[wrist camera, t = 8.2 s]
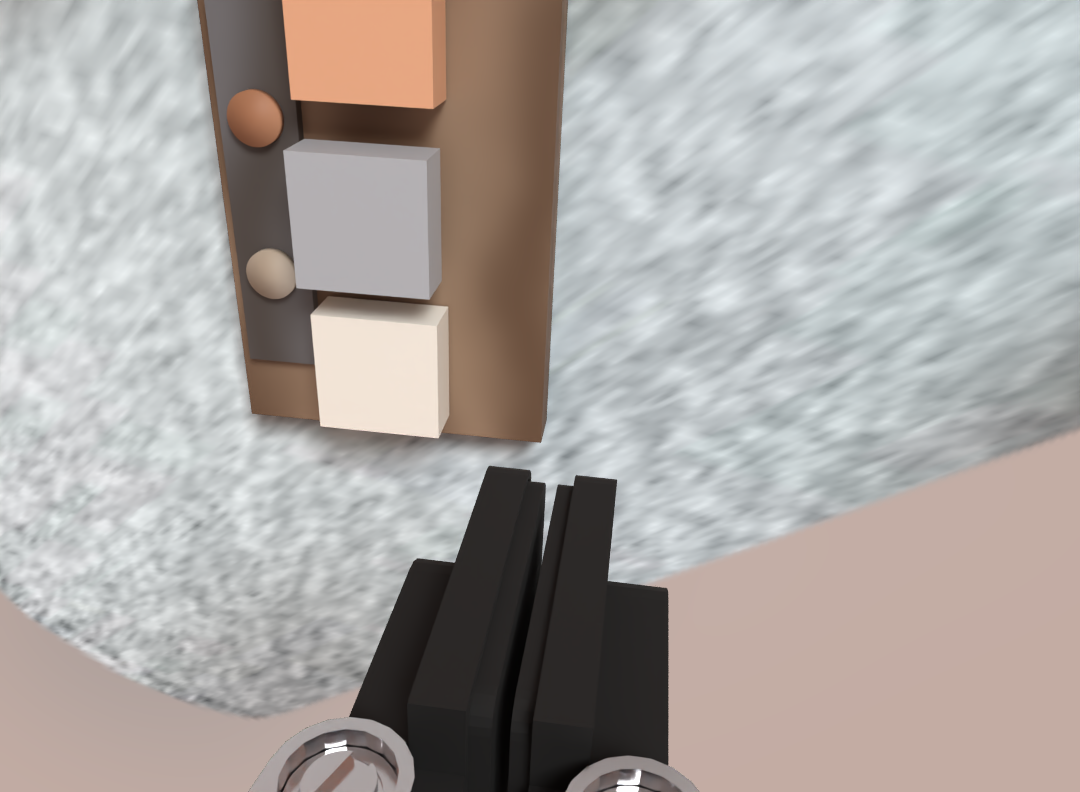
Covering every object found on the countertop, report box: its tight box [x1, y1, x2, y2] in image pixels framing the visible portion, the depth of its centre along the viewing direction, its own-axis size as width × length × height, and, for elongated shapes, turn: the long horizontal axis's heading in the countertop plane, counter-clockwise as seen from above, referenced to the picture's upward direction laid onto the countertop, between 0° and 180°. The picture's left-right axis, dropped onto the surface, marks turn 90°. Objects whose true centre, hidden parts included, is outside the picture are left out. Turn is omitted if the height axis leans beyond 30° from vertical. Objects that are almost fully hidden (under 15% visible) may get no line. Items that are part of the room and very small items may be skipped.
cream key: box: [310, 296, 449, 438], centre depth 35 cm, size 5×5×2 cm
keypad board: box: [197, 0, 568, 443], centre depth 34 cm, size 13×20×3 cm, turn 178°
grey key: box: [283, 139, 442, 300], centre depth 31 cm, size 5×5×2 cm
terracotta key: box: [282, 0, 446, 109], centre depth 29 cm, size 5×5×2 cm
